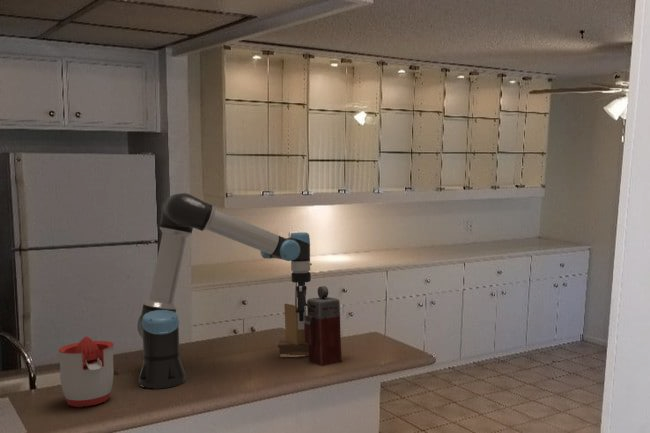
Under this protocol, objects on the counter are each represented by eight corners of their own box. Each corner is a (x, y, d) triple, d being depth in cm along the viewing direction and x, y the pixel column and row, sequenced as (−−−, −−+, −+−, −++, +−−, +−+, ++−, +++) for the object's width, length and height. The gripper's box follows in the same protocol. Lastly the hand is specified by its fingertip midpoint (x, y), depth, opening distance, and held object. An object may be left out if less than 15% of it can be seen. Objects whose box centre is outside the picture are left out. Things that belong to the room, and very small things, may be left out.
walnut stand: (327, 356, 227) (327, 343, 227) (278, 358, 227) (277, 345, 227) (327, 349, 239) (327, 337, 239) (280, 350, 239) (280, 338, 239)
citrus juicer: (68, 415, 168) (66, 345, 168) (55, 401, 182) (52, 336, 182) (124, 403, 178) (121, 337, 177) (107, 390, 192) (105, 329, 191)
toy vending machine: (303, 362, 220) (300, 286, 220) (328, 357, 226) (326, 284, 226) (315, 367, 212) (313, 289, 212) (341, 362, 218) (339, 286, 218)
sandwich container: (329, 339, 235) (328, 301, 235) (296, 345, 226) (295, 305, 226) (317, 335, 242) (316, 299, 242) (285, 341, 233) (284, 303, 233)
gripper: (309, 274, 220) (310, 332, 220) (311, 268, 245) (312, 319, 245) (289, 275, 220) (290, 332, 220) (293, 268, 245) (294, 320, 245)
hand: (302, 325), depth 233 cm, fingers open, 13 cm apart
